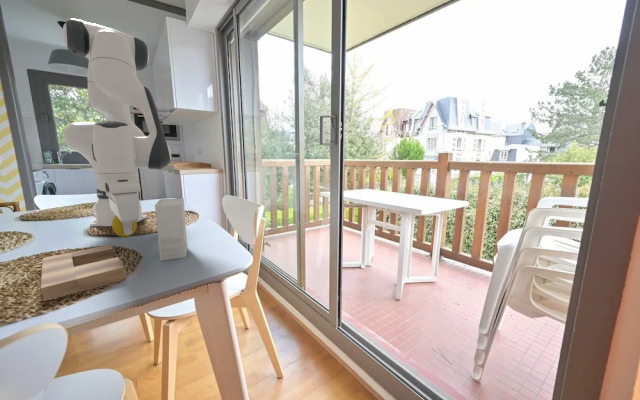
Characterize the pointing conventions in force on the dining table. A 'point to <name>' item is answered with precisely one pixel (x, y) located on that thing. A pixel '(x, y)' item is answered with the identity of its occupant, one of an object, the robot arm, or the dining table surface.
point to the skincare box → (171, 228)
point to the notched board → (80, 271)
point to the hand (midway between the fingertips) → (125, 231)
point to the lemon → (121, 227)
